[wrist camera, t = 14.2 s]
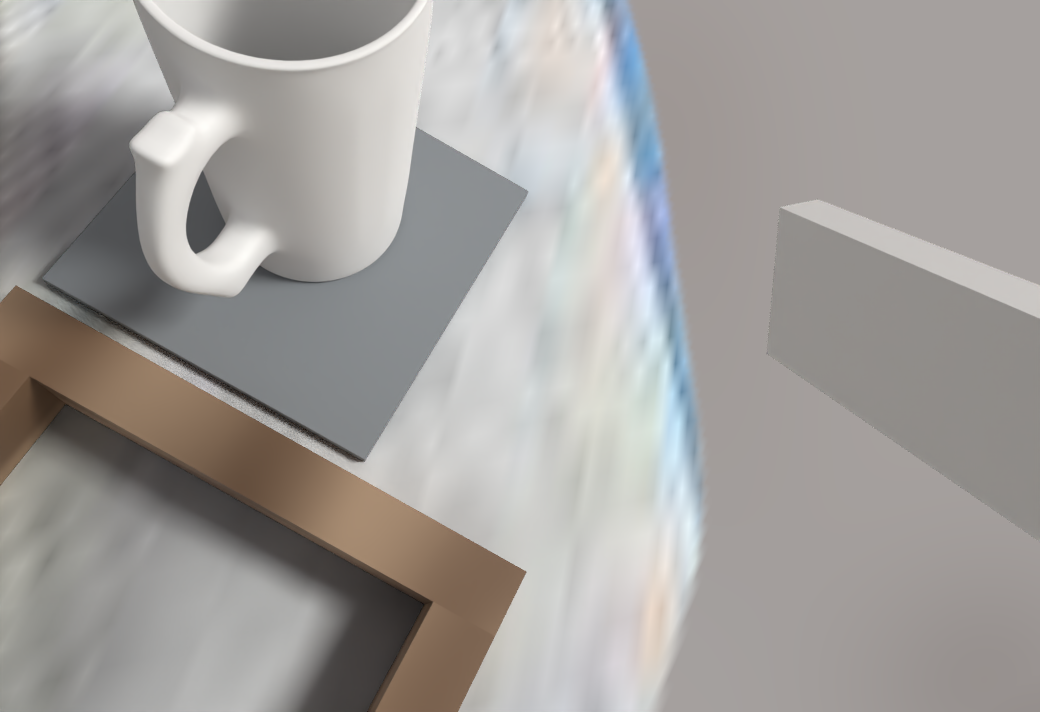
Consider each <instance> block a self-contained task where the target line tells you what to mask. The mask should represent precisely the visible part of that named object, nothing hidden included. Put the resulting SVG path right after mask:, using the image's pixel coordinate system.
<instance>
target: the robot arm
mask: <svg viewBox="0 0 1040 712" xmlns="http://www.w3.org/2000/svg"><path fill="white" fill-rule="evenodd" d="M767 354H768V355H769V356H771V357H772V358H774V359H775V360H777V361H778V362H780V363H781V364H782V365H784V366H785V367H787V368H788V369H790V370H791V371H792V372H794V373H796V374H797V375H798V376H800V377H801V378H803V379H804V380H806V381H807V382H808V383H810V384H811V385H813V386H814V387H816V388H817V389H819V390H820V391H822V392H823V393H824V394H826V395H828V396H829V397H830V398H832V399H833V400H835V401H836V402H838V403H839V404H840V405H842V406H843V407H845V408H846V409H848V410H849V411H851V412H852V413H853V414H855V415H856V416H858V417H859V418H861V419H862V420H864V421H865V422H867V423H868V424H869V425H871V426H872V427H874V428H875V429H877V430H878V431H880V432H881V433H883V434H884V435H885V436H887V437H888V438H890V439H892V440H893V441H894V442H896V443H897V444H899V445H900V446H901V447H903V448H904V449H906V450H907V451H909V452H910V453H912V454H913V455H915V456H916V457H917V458H919V459H921V460H922V461H923V462H925V463H926V464H928V465H929V466H931V467H932V468H933V469H935V470H936V471H938V472H939V473H941V474H942V475H944V476H945V477H947V478H948V479H949V480H951V481H952V482H954V483H955V484H957V485H958V486H960V487H961V488H962V489H964V490H965V491H967V492H968V493H970V494H971V495H973V496H974V497H976V498H977V499H978V500H980V501H981V502H983V503H985V504H986V505H987V506H989V507H990V508H991V509H993V510H994V511H996V512H997V513H999V514H1000V515H1002V516H1003V517H1005V518H1006V519H1007V520H1009V521H1010V522H1012V523H1014V524H1015V525H1016V526H1018V527H1019V528H1021V529H1022V530H1023V531H1025V532H1026V533H1028V534H1029V535H1031V536H1032V537H1034V538H1035V539H1036V540H1038V541H1039V542H1040V286H1039V285H1037V284H1035V283H1032V282H1029V281H1027V280H1024V279H1022V278H1019V277H1016V276H1014V275H1011V274H1009V273H1006V272H1004V271H1001V270H999V269H996V268H994V267H991V266H988V265H986V264H983V263H981V262H978V261H976V260H973V259H970V258H968V257H965V256H962V255H960V254H957V253H955V252H952V251H950V250H947V249H945V248H942V247H939V246H937V245H934V244H932V243H929V242H926V241H924V240H921V239H919V238H916V237H914V236H911V235H909V234H906V233H903V232H901V231H898V230H896V229H893V228H891V227H888V226H886V225H883V224H880V223H878V222H875V221H873V220H870V219H867V218H865V217H862V216H860V215H857V214H855V213H852V212H850V211H847V210H844V209H842V208H839V207H837V206H834V205H832V204H829V203H826V202H824V201H821V200H819V199H817V200H813V201H808V202H803V203H798V204H793V205H789V206H784V207H780V211H779V222H778V233H777V244H776V256H775V266H774V278H773V288H772V300H771V312H770V322H769V333H768V344H767Z"/></svg>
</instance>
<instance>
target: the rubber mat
mask: <svg viewBox="0 0 1040 712" xmlns="http://www.w3.org/2000/svg"><path fill="white" fill-rule="evenodd" d="M527 194H528V191H527V190H525V189H524V188H522V187H520V186H518V185H517V184H515V183H513V182H511V181H510V180H508V179H506V178H504V177H503V176H501V175H499V174H497V173H496V172H494V171H492V170H490V169H489V168H487V167H485V166H483V165H482V164H480V163H478V162H476V161H475V160H473V159H471V158H469V157H468V156H466V155H464V154H462V153H461V152H459V151H457V150H455V149H454V148H452V147H450V146H448V145H447V144H445V143H443V142H441V141H440V140H438V139H436V138H434V137H433V136H431V135H429V134H427V133H426V132H424V131H422V130H420V129H419V128H417V127H416V130H415V136H414V143H413V150H412V157H411V165H410V172H409V179H408V185H407V190H406V195H405V200H404V206H403V212H402V218H401V222H400V225H399V228H398V231H397V233H396V235H395V237H394V239H393V241H392V242H391V244H390V245H389V247H388V248H387V249H386V251H385V252H384V253H383V254H382V255H381V256H380V257H379V258H378V259H377V260H376V261H375V262H373V263H372V264H371V265H369V266H368V267H366V268H365V269H363V270H361V271H359V272H357V273H355V274H353V275H350V276H348V277H345V278H341V279H337V280H332V281H325V282H305V281H298V280H293V279H289V278H285V277H282V276H279V275H277V274H274V273H272V272H270V271H268V270H266V269H264V268H263V267H261V266H260V265H259V266H258V268H257V269H256V270H255V272H254V273H253V274H252V276H251V277H250V279H249V280H248V282H247V283H246V285H245V286H244V288H243V289H242V291H241V292H240V293H239V294H237V295H236V296H234V297H230V298H226V297H219V296H211V295H203V294H196V293H190V292H186V291H182V290H179V289H177V288H175V287H172V286H171V285H169V284H167V283H165V282H164V281H163V280H161V279H160V278H159V277H158V276H157V275H156V274H155V273H154V272H153V271H152V269H151V268H150V266H149V265H148V263H147V260H146V258H145V256H144V253H143V250H142V247H141V243H140V238H139V233H138V225H137V213H136V172H135V173H134V174H133V175H132V176H131V177H130V178H129V180H128V181H127V182H126V183H125V184H124V185H123V186H122V188H121V189H120V190H119V191H118V192H117V193H116V194H115V196H114V197H113V198H112V199H111V200H110V201H109V202H108V204H107V205H106V206H105V207H104V208H103V209H102V210H101V211H100V213H99V214H98V215H97V216H96V217H95V218H94V219H93V221H92V222H91V223H90V224H89V225H88V226H87V227H86V229H85V230H84V231H83V232H82V233H81V234H80V235H79V237H78V238H77V239H76V240H75V241H74V242H73V243H72V245H71V246H70V247H69V248H68V249H67V250H66V251H65V253H64V254H63V255H62V256H61V257H60V258H59V259H58V260H57V262H56V263H55V264H54V265H53V266H52V267H51V268H50V270H49V271H48V272H47V273H46V274H45V275H44V276H43V278H42V279H43V280H44V281H45V282H46V283H47V284H49V285H50V286H52V287H54V288H56V289H58V290H59V291H61V292H63V293H65V294H66V295H68V296H70V297H72V298H74V299H75V300H77V301H79V302H81V303H82V304H84V305H86V306H88V307H90V308H91V309H93V310H95V311H97V312H98V313H100V314H102V315H104V316H106V317H107V318H109V319H111V320H113V321H115V322H116V323H118V324H120V325H122V326H123V327H125V328H127V329H129V330H131V331H132V332H134V333H136V334H138V335H139V336H141V337H143V338H145V339H147V340H148V341H150V342H152V343H154V344H155V345H157V346H159V347H161V348H163V349H164V350H166V351H168V352H170V353H172V354H173V355H175V356H177V357H179V358H180V359H182V360H184V361H186V362H188V363H189V364H191V365H193V366H195V367H196V368H198V369H200V370H202V371H204V372H205V373H207V374H209V375H211V376H212V377H214V378H216V379H218V380H220V381H221V382H223V383H225V384H227V385H229V386H230V387H232V388H234V389H236V390H237V391H239V392H241V393H243V394H245V395H246V396H248V397H250V398H252V399H253V400H255V401H257V402H259V403H261V404H262V405H264V406H266V407H268V408H269V409H271V410H273V411H275V412H277V413H278V414H280V415H282V416H284V417H286V418H287V419H289V420H291V421H293V422H294V423H296V424H298V425H300V426H302V427H303V428H305V429H307V430H309V431H310V432H312V433H314V434H316V435H318V436H319V437H321V438H323V439H325V440H326V441H328V442H330V443H332V444H334V445H335V446H337V447H339V448H341V449H343V450H344V451H346V452H348V453H350V454H351V455H353V456H355V457H357V458H359V459H360V460H362V461H364V462H365V460H366V458H367V457H368V455H369V453H370V452H371V450H372V448H373V447H374V445H375V444H376V442H377V440H378V439H379V437H380V435H381V434H382V432H383V430H384V429H385V427H386V426H387V424H388V422H389V421H390V419H391V417H392V416H393V414H394V412H395V411H396V409H397V407H398V406H399V404H400V403H401V401H402V399H403V398H404V396H405V394H406V393H407V391H408V389H409V388H410V386H411V385H412V383H413V381H414V380H415V378H416V376H417V375H418V373H419V371H420V370H421V368H422V367H423V365H424V363H425V362H426V360H427V358H428V357H429V355H430V353H431V352H432V350H433V349H434V347H435V345H436V344H437V342H438V340H439V339H440V337H441V335H442V334H443V332H444V331H445V329H446V327H447V326H448V324H449V322H450V321H451V319H452V317H453V316H454V314H455V312H456V311H457V309H458V308H459V306H460V304H461V303H462V301H463V299H464V298H465V296H466V294H467V293H468V291H469V290H470V288H471V286H472V285H473V283H474V281H475V280H476V278H477V276H478V275H479V273H480V272H481V270H482V268H483V267H484V265H485V263H486V262H487V260H488V258H489V257H490V255H491V254H492V252H493V250H494V249H495V247H496V245H497V244H498V242H499V240H500V239H501V237H502V236H503V234H504V232H505V231H506V229H507V227H508V226H509V224H510V222H511V221H512V219H513V217H514V216H515V214H516V213H517V211H518V209H519V208H520V206H521V204H522V203H523V201H524V199H525V198H526V196H527ZM225 225H226V223H225V221H224V219H223V217H222V215H221V213H220V210H219V208H218V206H217V204H216V201H215V199H214V197H213V194H212V192H211V189H210V187H209V184H208V182H207V179H206V177H205V174H204V172H203V170H202V172H201V173H200V176H199V178H198V180H197V183H196V185H195V187H194V190H193V193H192V196H191V199H190V203H189V208H188V212H187V219H186V236H187V240H188V244H189V246H190V248H191V250H192V251H193V252H194V253H195V254H197V253H199V252H201V251H203V250H204V249H206V248H207V247H208V246H210V245H211V244H212V243H213V242H214V241H215V239H216V238H217V237H218V235H219V234H220V232H221V231H222V230H223V228H224V227H225Z"/></svg>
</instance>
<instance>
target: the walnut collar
mask: <svg viewBox="0 0 1040 712" xmlns="http://www.w3.org/2000/svg"><path fill="white" fill-rule="evenodd" d="M65 404H67V405H69V406H71V407H72V408H74V409H76V410H78V411H79V412H81V413H83V414H85V415H87V416H88V417H90V418H92V419H94V420H96V421H97V422H99V423H101V424H103V425H105V426H106V427H108V428H110V429H112V430H113V431H115V432H117V433H119V434H121V435H122V436H124V437H126V438H128V439H130V440H131V441H133V442H135V443H137V444H139V445H140V446H142V447H144V448H146V449H147V450H149V451H151V452H153V453H155V454H156V455H158V456H160V457H162V458H164V459H165V460H167V461H169V462H171V463H173V464H174V465H176V466H178V467H180V468H181V469H183V470H185V471H187V472H189V473H190V474H192V475H194V476H196V477H198V478H199V479H201V480H203V481H205V482H207V483H208V484H210V485H212V486H214V487H215V488H217V489H219V490H221V491H223V492H224V493H226V494H228V495H230V496H232V497H233V498H235V499H237V500H239V501H241V502H242V503H244V504H246V505H248V506H250V507H251V508H253V509H255V510H257V511H258V512H260V513H262V514H264V515H266V516H267V517H269V518H271V519H273V520H275V521H276V522H278V523H280V524H282V525H284V526H285V527H287V528H289V529H291V530H292V531H294V532H296V533H298V534H300V535H301V536H303V537H305V538H307V539H309V540H310V541H312V542H314V543H316V544H318V545H319V546H321V547H323V548H325V549H326V550H328V551H330V552H332V553H334V554H335V555H337V556H339V557H341V558H343V559H344V560H346V561H348V562H350V563H352V564H353V565H355V566H357V567H359V568H360V569H362V570H364V571H366V572H368V573H369V574H371V575H373V576H375V577H377V578H378V579H380V580H382V581H384V582H386V583H387V584H389V585H391V586H393V587H395V588H396V589H398V590H400V591H402V592H403V593H405V594H407V595H409V596H411V597H412V598H414V599H416V600H418V601H420V602H421V603H423V604H424V606H423V608H422V610H421V612H420V614H419V615H418V617H417V619H416V621H415V623H414V625H413V627H412V628H411V630H410V632H409V634H408V636H407V638H406V640H405V642H404V643H403V645H402V647H401V649H400V651H399V653H398V655H397V656H396V658H395V660H394V662H393V664H392V666H391V668H390V670H389V671H388V673H387V675H386V677H385V679H384V681H383V683H382V685H381V686H380V688H379V690H378V692H377V694H376V696H375V698H374V699H373V701H372V703H371V705H370V707H369V709H368V711H367V712H458V710H459V708H460V706H461V704H462V702H463V700H464V698H465V696H466V694H467V692H468V690H469V688H470V686H471V684H472V682H473V680H474V678H475V676H476V674H477V672H478V670H479V668H480V665H481V663H482V661H483V659H484V657H485V655H486V653H487V651H488V649H489V647H490V645H491V643H492V641H493V639H494V637H495V635H496V633H497V631H498V629H499V627H500V625H501V623H502V621H503V619H504V617H505V615H506V613H507V610H508V608H509V606H510V604H511V602H512V600H513V598H514V596H515V594H516V592H517V590H518V588H519V586H520V584H521V582H522V580H523V578H524V576H525V574H526V571H524V570H522V569H521V568H519V567H517V566H515V565H513V564H512V563H510V562H508V561H506V560H505V559H503V558H501V557H499V556H497V555H496V554H494V553H492V552H490V551H488V550H487V549H485V548H483V547H481V546H480V545H478V544H476V543H474V542H472V541H471V540H469V539H467V538H465V537H464V536H462V535H460V534H458V533H456V532H455V531H453V530H451V529H449V528H447V527H446V526H444V525H442V524H440V523H439V522H437V521H435V520H433V519H431V518H430V517H428V516H426V515H424V514H423V513H421V512H419V511H417V510H415V509H414V508H412V507H410V506H408V505H406V504H405V503H403V502H401V501H399V500H398V499H396V498H394V497H392V496H390V495H389V494H387V493H385V492H383V491H382V490H380V489H378V488H376V487H374V486H373V485H371V484H369V483H367V482H365V481H364V480H362V479H360V478H358V477H357V476H355V475H353V474H351V473H349V472H348V471H346V470H344V469H342V468H341V467H339V466H337V465H335V464H333V463H332V462H330V461H328V460H326V459H324V458H323V457H321V456H319V455H317V454H316V453H314V452H312V451H310V450H308V449H307V448H305V447H303V446H301V445H300V444H298V443H296V442H294V441H292V440H291V439H289V438H287V437H285V436H283V435H282V434H280V433H278V432H276V431H275V430H273V429H271V428H269V427H267V426H266V425H264V424H262V423H260V422H259V421H257V420H255V419H253V418H251V417H250V416H248V415H246V414H244V413H242V412H241V411H239V410H237V409H235V408H234V407H232V406H230V405H228V404H226V403H225V402H223V401H221V400H219V399H218V398H216V397H214V396H212V395H210V394H209V393H207V392H205V391H203V390H201V389H200V388H198V387H196V386H194V385H193V384H191V383H189V382H187V381H185V380H184V379H182V378H180V377H178V376H177V375H175V374H173V373H171V372H169V371H168V370H166V369H164V368H162V367H160V366H159V365H157V364H155V363H153V362H152V361H150V360H148V359H146V358H144V357H143V356H141V355H139V354H137V353H136V352H134V351H132V350H130V349H128V348H127V347H125V346H123V345H121V344H119V343H118V342H116V341H114V340H112V339H111V338H109V337H107V336H105V335H103V334H102V333H100V332H98V331H96V330H95V329H93V328H91V327H89V326H87V325H86V324H84V323H82V322H80V321H78V320H77V319H75V318H73V317H71V316H70V315H68V314H66V313H64V312H62V311H61V310H59V309H57V308H55V307H54V306H52V305H50V304H48V303H46V302H45V301H43V300H41V299H39V298H37V297H36V296H34V295H32V294H30V293H29V292H27V291H25V290H23V289H21V288H20V287H18V286H15V287H14V288H13V289H12V290H11V291H10V293H9V294H8V295H7V296H6V297H5V298H4V299H3V300H2V302H1V303H0V485H1V484H2V483H3V481H4V480H5V479H6V478H7V477H8V475H9V474H10V473H11V472H12V470H13V469H14V468H15V467H16V465H17V464H18V463H19V462H20V460H21V459H22V458H23V457H24V455H25V454H26V453H27V452H28V450H29V449H30V448H31V447H32V445H33V444H34V443H35V442H36V440H37V439H38V438H39V437H40V435H41V434H42V433H43V432H44V430H45V429H46V428H47V427H48V425H49V424H50V423H51V422H52V420H53V419H54V418H55V417H56V415H57V414H58V413H59V412H60V410H61V409H62V408H63V407H64V405H65Z"/></svg>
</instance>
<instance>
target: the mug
mask: <svg viewBox="0 0 1040 712" xmlns="http://www.w3.org/2000/svg"><path fill="white" fill-rule="evenodd" d="M133 1H134V4H135V7H136V9H137V12H138V15H139V17H140V20H141V22H142V25H143V27H144V30H145V32H146V34H147V37H148V39H149V42H150V44H151V47H152V49H153V51H154V54H155V56H156V59H157V61H158V63H159V66H160V68H161V71H162V73H163V75H164V78H165V80H166V83H167V85H168V87H169V90H170V92H171V95H172V97H173V99H174V102H175V105H174V106H173V108H172V109H171V110H170V111H169V112H168V111H163V112H159V113H158V114H156V115H155V116H154V117H152V118H151V119H150V120H149V121H148V122H147V124H146V125H145V126H144V127H143V128H142V129H141V130H140V131H139V132H138V133H137V134H136V135H135V136H134V137H133V138H132V139H131V140H130V142H129V148H130V151H131V153H132V155H133V158H134V161H135V169H136V213H137V225H138V233H139V238H140V243H141V247H142V250H143V253H144V256H145V258H146V260H147V263H148V265H149V266H150V268H151V269H152V271H153V272H154V273H155V274H156V275H157V276H158V277H159V278H160V279H161V280H163V281H164V282H165V283H167V284H169V285H171V286H172V287H175V288H177V289H179V290H182V291H186V292H190V293H196V294H203V295H211V296H219V297H226V298H230V297H234V296H236V295H237V294H239V293H240V292H241V291H242V289H243V288H244V286H245V285H246V283H247V282H248V280H249V279H250V277H251V276H252V274H253V273H254V272H255V270H256V269H257V268H258V266H259V265H260V266H261V267H263V268H264V269H266V270H268V271H270V272H272V273H274V274H277V275H279V276H282V277H285V278H289V279H293V280H298V281H305V282H325V281H332V280H337V279H341V278H345V277H348V276H350V275H353V274H355V273H357V272H359V271H361V270H363V269H365V268H366V267H368V266H369V265H371V264H372V263H373V262H375V261H376V260H377V259H378V258H379V257H380V256H381V255H382V254H383V253H384V252H385V251H386V249H387V248H388V247H389V245H390V244H391V242H392V241H393V239H394V237H395V235H396V233H397V231H398V228H399V225H400V222H401V218H402V212H403V206H404V200H405V195H406V190H407V185H408V179H409V172H410V165H411V157H412V150H413V143H414V136H415V130H416V123H417V116H418V110H419V103H420V96H421V90H422V83H423V76H424V70H425V63H426V57H427V50H428V43H429V36H430V29H431V20H432V10H433V0H133ZM202 170H203V172H204V174H205V177H206V179H207V182H208V184H209V187H210V189H211V192H212V194H213V197H214V199H215V201H216V204H217V206H218V208H219V210H220V213H221V215H222V217H223V219H224V221H225V223H226V225H225V227H224V228H223V230H222V231H221V232H220V234H219V235H218V237H217V238H216V239H215V241H214V242H213V243H212V244H211V245H210V246H208V247H207V248H206V249H204V250H203V251H201V252H199V253H197V254H195V253H194V252H193V251H192V250H191V248H190V246H189V244H188V240H187V236H186V219H187V212H188V208H189V203H190V199H191V196H192V193H193V190H194V187H195V185H196V183H197V180H198V178H199V176H200V173H201V172H202Z"/></svg>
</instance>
